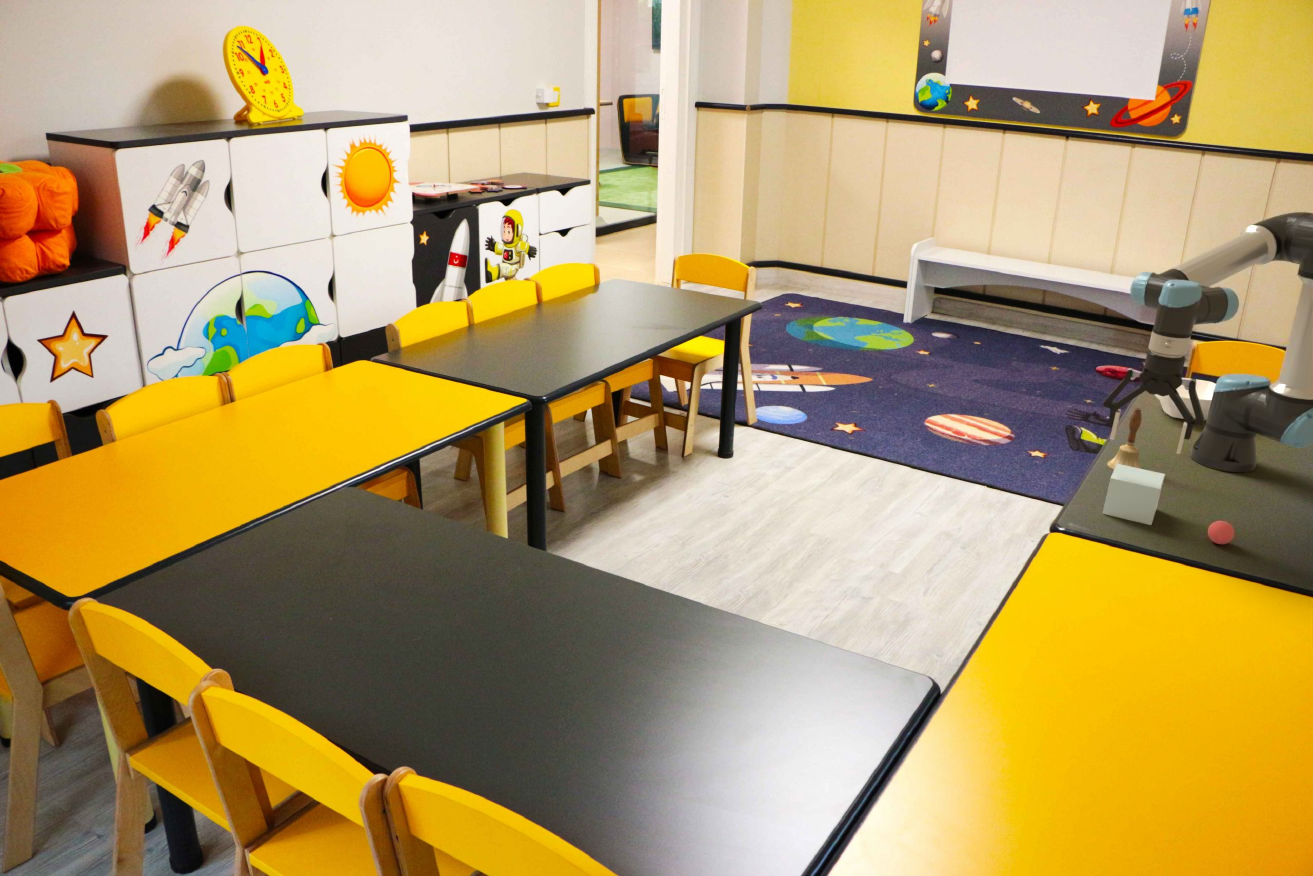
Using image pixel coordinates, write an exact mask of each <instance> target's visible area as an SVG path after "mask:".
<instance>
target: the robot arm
mask: <svg viewBox="0 0 1313 876" xmlns="http://www.w3.org/2000/svg"><path fill="white" fill-rule="evenodd" d="M1277 261H1278V262H1287V263H1292V264H1296V265H1298V269H1297V270H1298V271H1297V275H1296V276H1297V277H1298V278H1299V279H1300V281H1301V282H1302V284H1301V289H1300V293H1299V297H1298V302H1297V305H1296V308H1295V313H1294V317H1293V321H1292V325H1291V329H1290V333H1289V338H1288V341H1287V344H1286V348H1285V353H1284V357H1283V361H1282V365H1281V369H1280V374H1279V377H1278V379H1277V380H1276V381H1274V382H1272V383H1271V379H1270V378H1268V377H1265V376H1262V375H1255V374H1248V373H1247V374H1245V373H1230V374H1224V375H1222V376H1220V377H1219V378H1218V379H1216V383H1215V384H1216V386H1215V388H1214V390H1213V396H1212V400H1211V404H1210V408H1209V413H1208V417H1207V420H1204V416H1203V412H1202V409H1201V406H1200V402H1199V399H1198V396H1197V392H1196V378H1190V379H1191V380H1185V379H1182V378H1183V377H1182V373H1183V370H1184V367H1185V362H1186V357H1185V355H1187V354H1188V349H1189V346H1190V343H1191V342H1190V341H1191V337H1192V333H1193V328H1194V326H1196V325H1206V324H1219V323H1222V322H1227V321H1229V320H1231V319H1232V318H1234V316H1236V314H1237V313H1238V310H1239V307H1240V299H1239V297H1238V294H1236V292H1235V291H1234V290H1233V289H1231V288H1229V287H1221V286H1216V287H1211V286H1214V285H1215V284H1217V283H1219V282H1221V281H1223V280H1225V279H1227V278H1230V277H1232V276H1234V275H1236V274H1238V273H1240V272H1243V271H1244V270H1246V269H1248V268H1251V267H1252V266H1255V265H1257V266H1261V265H1262V266H1263V265H1267V264H1268V263H1270V262H1277ZM1129 292H1130V298H1131V300H1132V301H1133V302H1134V303H1135V304H1138V305H1141V306H1144V307H1145V308H1147V309H1152V310H1153V309H1154V310H1156V315H1155V319H1154V324H1153V327H1152V331H1151V335H1150V340H1149V344H1148V349H1149V350H1148V351H1147V353H1146V357H1145V361H1144V366H1143V368H1142V370H1141V371H1139V370H1136V369H1134V368H1133V367H1129V368H1128V369H1127V371H1126V373H1125V376H1124V378H1123V379H1122V380H1121V381H1120V382H1119V383H1118V385H1117V386H1115V388H1114V389H1113V390H1112V392H1110V394H1109V395H1108V396H1107V397H1106V398H1105V400H1104V401H1103V403H1102V405H1103V407H1105V408H1107V409H1109V411H1110V412H1109V417H1108V424H1109V425H1112V428H1111V433H1110V436H1109V440H1111V441H1114V440H1115V438H1116V436H1117V435H1116V434H1117V429H1118V425H1119V421H1120V416H1121V411H1122V409H1121V408H1122V407H1123V406H1125V405H1127V404H1128V403H1129V402H1131V401H1133V400H1134V399H1135V398H1137V397H1138V396H1139V395H1140V396H1141V394H1144V393H1145V392H1147V393H1148V394H1149V395H1154V394H1157V395H1160V396H1167V395H1169V396H1170V398H1171V400H1173V402H1174V403H1175V405H1176V407H1177V408H1178V410H1179V411H1180V413H1181V415H1182V416H1183V418H1184V419H1183V420H1184V422H1183V425H1182V429H1181V433H1180V437H1179V440H1178V441H1179V442H1178V444H1177V449H1176V453H1175V454H1177V455H1181V452H1182V449H1183V444H1184V442H1185V441H1184V440H1188V441H1189V440H1190V439H1191V437H1192V433H1193V429H1194V426H1203V425H1204V423H1205V425H1204V429H1203V430H1202V431H1201V433H1200V435H1199V436H1198V437H1197V438H1196V440H1195V442H1194V443H1193V445H1192V447H1191V449H1190V453H1189V454H1190V455H1189V457H1190V458H1191V459H1192V460H1193V461H1194V462H1196V463H1198V464H1200V465H1202V466H1205V467H1208V468H1211V469H1214V470H1219V471H1224V472H1229V473H1230V472H1231V473H1250V472H1253V471H1254V470H1256V467H1257V462H1258V456H1257V452H1258V451H1257V443H1256V437H1257V435H1259V436H1262V437H1265V438H1267V439H1270V440H1273V441H1275V442H1278V443H1281V444H1282V445H1284V446H1290V447H1292V448H1297V449H1304V448H1307V447H1310V446H1312V445H1313V212H1308V211H1295V212H1288V213H1283V214H1279V215H1276V216H1275V215H1274V216H1272V217H1269V218H1266V219H1262V220H1260V221H1258V222H1256V223H1254V224H1251V225H1250V226H1247V227H1245V228H1244V229H1243V230H1242V231H1241V232H1240V234H1239V235H1238V236H1236V237H1234V238H1232V239H1230V240H1228V241H1225V242H1223V243H1222V244H1220V245H1217V246H1215V247H1213V248H1211V249H1209V250H1207V251H1204V252H1203V253H1200V254H1199V255H1196V256H1194V257H1192V258H1191V259H1188V260H1186V261H1184V262H1182V263H1179V264H1177V265H1175V266H1174V267H1172V268H1170V269H1168V270H1165V271H1163V272H1161V273H1156V272H1150V271H1145V272H1140V273H1139V274H1138V275H1137V276H1136V277H1134V279H1133V281H1132V282H1131V285H1130V291H1129ZM1136 378H1139V380H1140V382H1141V384H1140V385H1138V386H1137V387H1136V388H1135V389H1133V390H1131V391H1130V392H1128V393H1127V394H1126V395H1124V396H1122V397H1121V398H1120V399H1118V400H1117V401H1115V402H1113V401H1114V400H1115V399H1116V398H1117V397H1118V396H1119V394H1120V393H1121V392H1122V391H1123V389H1125V388H1126V386H1128V384H1129V383H1130V382H1131V381H1134V380H1135V379H1136ZM1181 385H1184V387H1185V389H1186V390H1189V397H1190V400H1191V403H1192V407H1193V410H1194V413H1195V417H1196V418H1193V416H1192V415H1191V413H1190V412H1189V410H1188V408H1187V407H1186V405H1185V404H1184V402H1183V400H1182V399H1181V397H1180V396H1179V393H1178V392H1177V390H1176V389H1177V388H1178V387H1180V386H1181Z"/></svg>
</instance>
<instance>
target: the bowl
mask: <svg viewBox="0 0 1313 876" xmlns="http://www.w3.org/2000/svg"><path fill="white" fill-rule="evenodd" d="M1182 379H1185V380H1191V379H1192V378H1189V377H1187V378H1186V377H1182ZM1195 379H1196V378H1195ZM1215 386H1216V383H1215V382H1212V381H1209V380H1203V379H1196V392H1197V396H1198V399H1199V402H1200V406H1201V409H1202V412H1203V416H1204V421H1207V417H1208V413H1209V408H1210V404H1211V400H1212V396H1213V390H1214V388H1215ZM1176 390H1177V392H1178V393H1179V396H1180V397H1181V399H1182V400H1183V402H1184V404H1185V405H1186V407H1187V408H1188V410H1189V412H1190V413H1191V415H1192V416H1193V418H1196V417H1195V413H1194V410H1193V407H1192V403H1191V400H1190V397H1189V390H1186V389H1185V387H1184V385H1181V386H1180V387H1178V388H1177V389H1176ZM1153 395H1154V397H1156V398H1157V399H1158V400H1159V402H1160V405H1161V408H1162V410H1163V412H1164V413H1165V414H1167V415H1168V416H1170V417H1171V418H1175V419H1183V420H1184V418H1183V416H1182V415H1181V413H1180V411H1179V410H1178V408H1177V407H1176V405H1175V403H1174V402H1173V400H1171V398H1170V396H1169V395H1167V396H1160V395H1157V394H1153Z"/></svg>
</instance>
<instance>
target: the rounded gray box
mask: <svg viewBox="0 0 1313 876" xmlns="http://www.w3.org/2000/svg"><path fill="white" fill-rule="evenodd" d="M1165 476H1166V473H1162V472H1157V471H1153V470H1149V469H1148V470H1147V469H1144V468H1142V469H1139V468H1135V467H1130V466H1126V465H1121V464H1117V465H1116V467H1115V469H1114V470H1113V471H1112V474H1111V476H1110V478H1109V484H1108V487H1107V490H1106V497H1105V501H1104V504H1103V505H1104V506H1103V509H1102V515H1107V516H1110V517H1115V518H1119V519H1123V520H1128V521H1131V522H1135V523H1140V524H1145V525H1148V526H1152V524H1153V522H1154V518H1155V515H1156V512H1157V508H1158V504H1159V500H1160V496H1161V492H1162V487H1163V484H1164V480H1165Z"/></svg>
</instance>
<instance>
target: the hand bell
mask: <svg viewBox="0 0 1313 876" xmlns="http://www.w3.org/2000/svg"><path fill="white" fill-rule="evenodd" d="M1141 411H1142V409H1141V408H1139V407H1135V408H1134V410H1133V412H1132V414H1131V415H1130V417H1129V424H1128V427H1129V434H1128V438H1127V442H1126V444H1121V445H1120V446H1119V448H1118V451H1117V453H1116V455H1115V456H1114V457H1113V458H1112V459H1110V460H1108V462H1107V463H1106V464H1107V467H1108V468H1110V469H1111V470H1113V471H1114V469H1115V467H1116V465H1117V464H1121V465H1126V466H1130V467H1135V468H1139V469H1143V467H1142V466H1141V464H1140V459H1139V451H1140V450H1139V448H1137V447H1136V446H1135V441H1136V438H1137V437H1136V436H1137V432H1138V430H1139V428H1140V427H1141V424H1142V417H1143V416H1142V412H1141Z"/></svg>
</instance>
